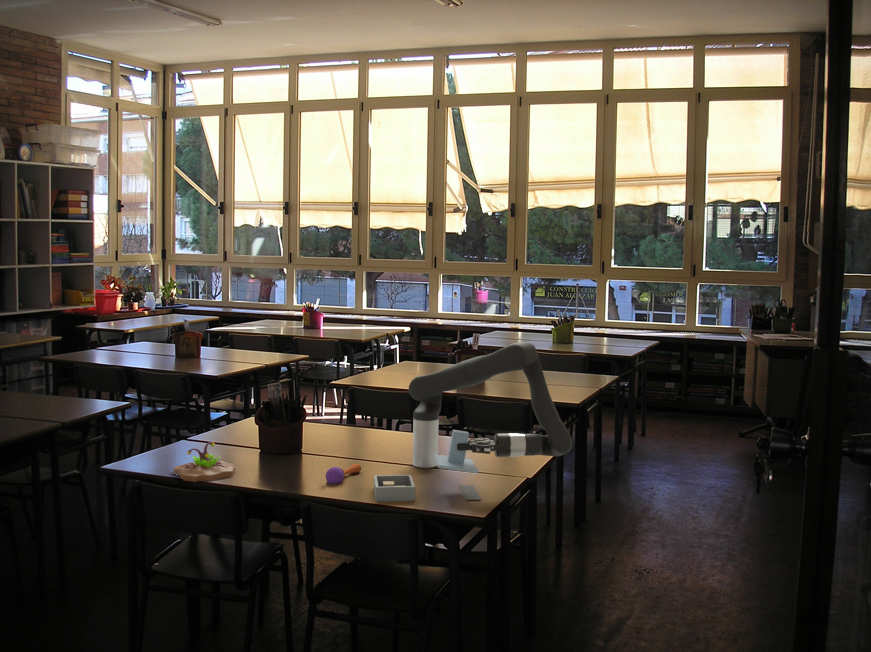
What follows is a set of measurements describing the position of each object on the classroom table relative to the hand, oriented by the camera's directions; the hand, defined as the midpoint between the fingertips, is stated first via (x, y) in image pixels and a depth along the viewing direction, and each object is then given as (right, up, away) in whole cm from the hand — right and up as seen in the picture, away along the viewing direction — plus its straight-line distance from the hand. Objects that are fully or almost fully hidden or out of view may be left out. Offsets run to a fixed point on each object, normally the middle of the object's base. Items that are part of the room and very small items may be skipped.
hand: (456, 445), depth 256 cm
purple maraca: (-38, -14, +17) cm, 44 cm away
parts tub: (-20, -15, -3) cm, 26 cm away
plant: (-86, -13, +21) cm, 90 cm away
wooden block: (-22, -15, 0) cm, 26 cm away
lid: (-1, -6, 0) cm, 6 cm away
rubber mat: (0, -15, +1) cm, 16 cm away
